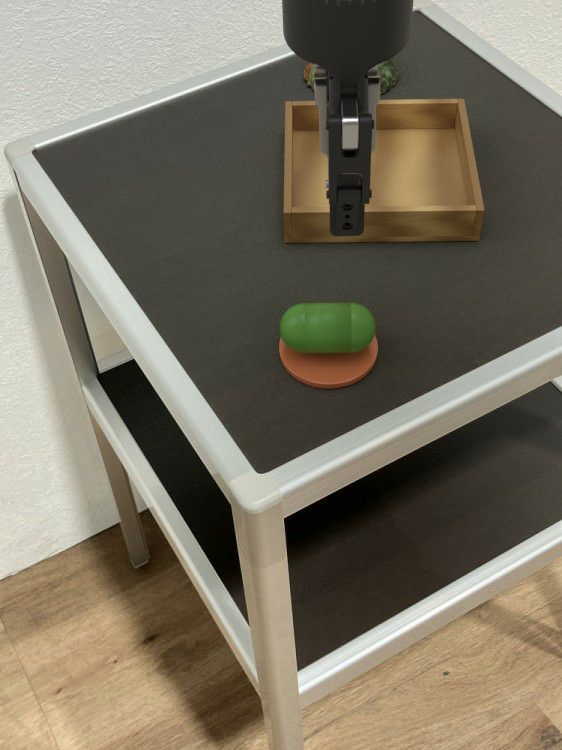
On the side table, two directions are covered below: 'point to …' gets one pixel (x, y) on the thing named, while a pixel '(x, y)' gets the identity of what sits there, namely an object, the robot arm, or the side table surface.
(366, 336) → the cucumber
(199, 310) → the side table surface
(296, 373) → the plate
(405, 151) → the wooden tray
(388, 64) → the seashell
